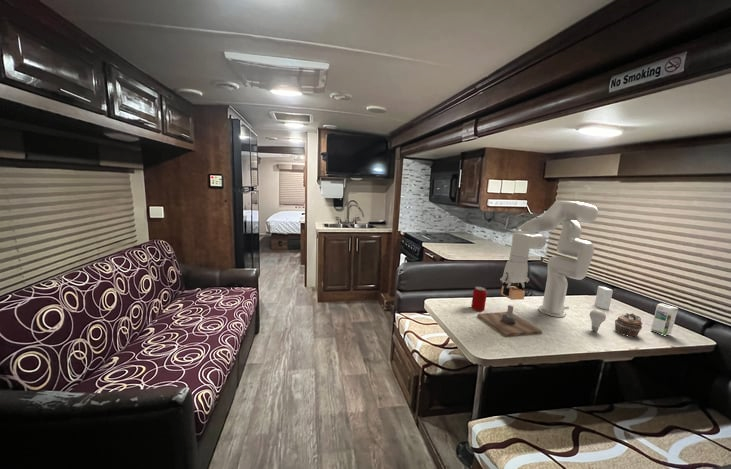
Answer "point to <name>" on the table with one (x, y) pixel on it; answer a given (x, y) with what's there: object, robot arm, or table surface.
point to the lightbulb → (597, 318)
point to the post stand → (509, 323)
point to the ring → (514, 293)
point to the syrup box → (664, 319)
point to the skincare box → (603, 297)
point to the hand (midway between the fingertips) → (512, 294)
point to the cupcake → (628, 324)
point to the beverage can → (479, 298)
